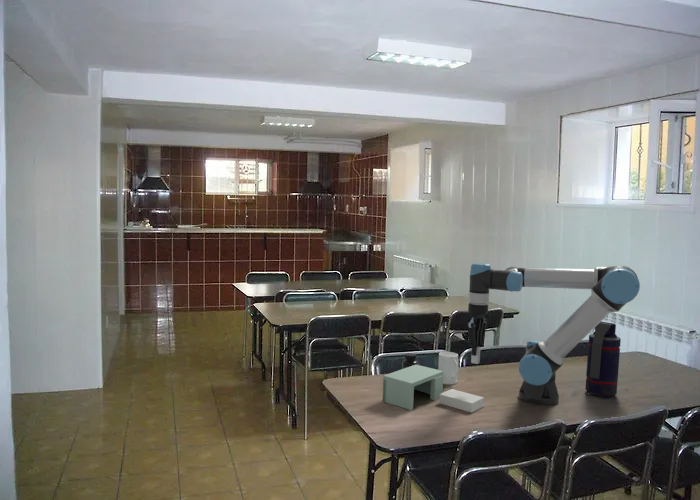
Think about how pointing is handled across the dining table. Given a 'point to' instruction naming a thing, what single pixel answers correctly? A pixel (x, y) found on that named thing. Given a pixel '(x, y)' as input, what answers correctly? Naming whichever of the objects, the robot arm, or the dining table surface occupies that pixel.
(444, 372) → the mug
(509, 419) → the dining table surface
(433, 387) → the shelf
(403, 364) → the supplement bottle
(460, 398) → the lid
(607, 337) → the grenade
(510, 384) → the dining table surface
